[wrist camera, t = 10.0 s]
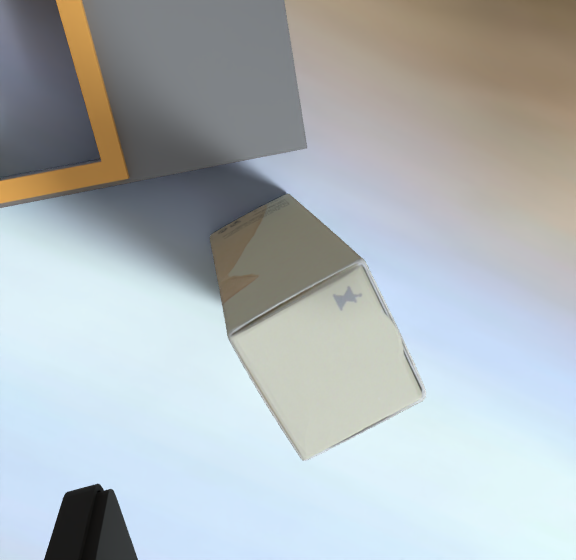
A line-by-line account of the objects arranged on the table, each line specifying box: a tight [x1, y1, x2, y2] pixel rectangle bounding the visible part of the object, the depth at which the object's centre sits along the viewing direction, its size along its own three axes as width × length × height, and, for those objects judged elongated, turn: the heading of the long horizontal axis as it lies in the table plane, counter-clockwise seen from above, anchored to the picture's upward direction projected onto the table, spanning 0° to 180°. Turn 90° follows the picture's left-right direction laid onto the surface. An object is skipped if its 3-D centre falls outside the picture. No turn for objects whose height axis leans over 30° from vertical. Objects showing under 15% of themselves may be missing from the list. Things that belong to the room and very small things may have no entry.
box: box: [210, 194, 426, 461], centre depth 20 cm, size 5×4×11 cm
